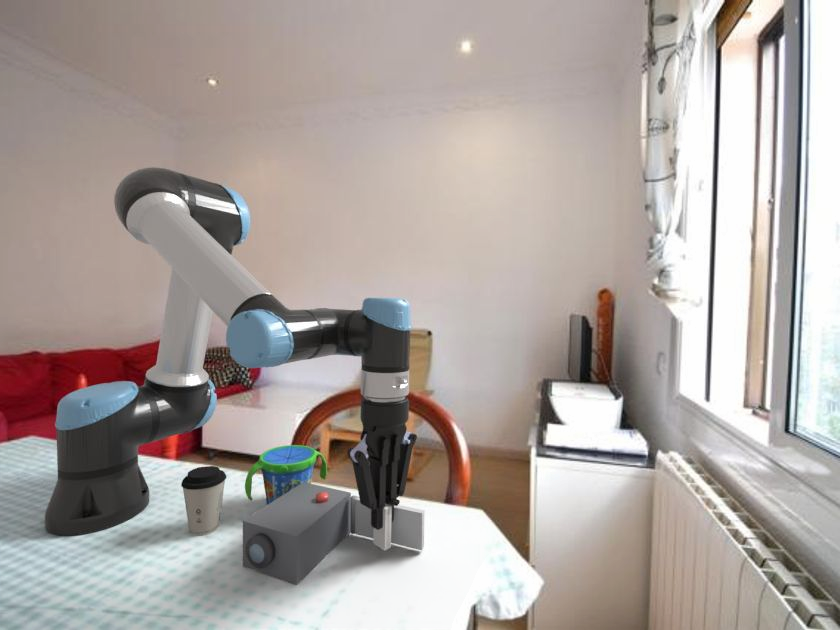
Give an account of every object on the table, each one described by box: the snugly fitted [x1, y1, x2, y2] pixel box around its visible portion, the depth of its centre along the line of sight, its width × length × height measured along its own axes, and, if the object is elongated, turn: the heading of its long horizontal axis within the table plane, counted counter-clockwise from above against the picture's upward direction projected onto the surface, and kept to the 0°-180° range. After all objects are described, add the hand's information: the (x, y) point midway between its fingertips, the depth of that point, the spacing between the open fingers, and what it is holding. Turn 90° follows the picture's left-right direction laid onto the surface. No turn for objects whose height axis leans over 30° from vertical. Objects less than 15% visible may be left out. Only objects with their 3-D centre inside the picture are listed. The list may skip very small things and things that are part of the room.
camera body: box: [242, 482, 352, 586], centre depth 64 cm, size 10×15×8 cm, turn 158°
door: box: [349, 495, 425, 551], centre depth 66 cm, size 2×13×6 cm, turn 70°
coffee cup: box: [180, 465, 227, 537], centre depth 70 cm, size 7×7×10 cm
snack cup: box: [244, 444, 328, 506], centre depth 78 cm, size 16×10×10 cm
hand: (382, 545), depth 63 cm, fingers closed
